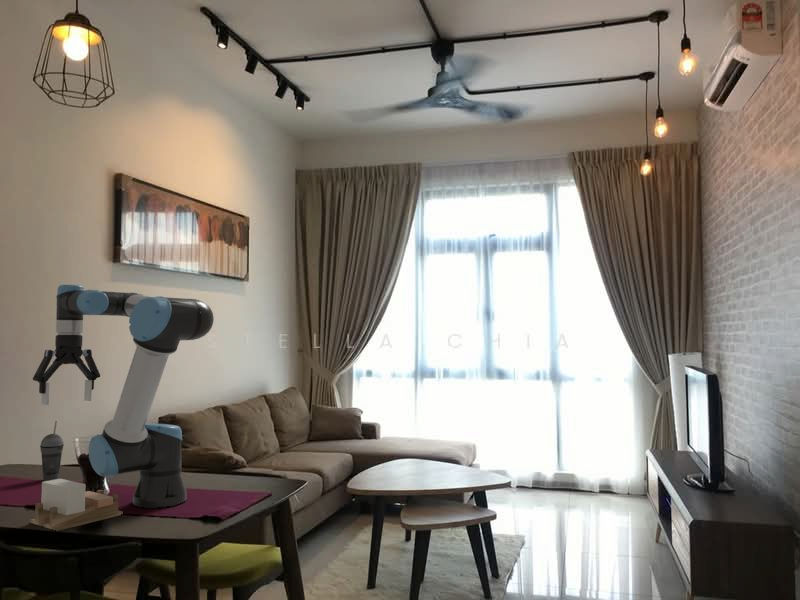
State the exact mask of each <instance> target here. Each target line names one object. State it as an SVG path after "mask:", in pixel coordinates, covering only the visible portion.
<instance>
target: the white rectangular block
mask: <svg viewBox="0 0 800 600" xmlns="http://www.w3.org/2000/svg"><path fill="white" fill-rule="evenodd" d="M86 487H87V485H86V483H81V482H77V481H74V480H68V479H64V478H58V479H55V480H50V481H41V496H40V497H41V500H40V501H41V502H40V503H43V510H44V509H45V510H48V511H50V508H51V507H57V508H58V513H59V514H63V515H70V514H74V513H79V512H83V511H85V492H86Z"/></svg>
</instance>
